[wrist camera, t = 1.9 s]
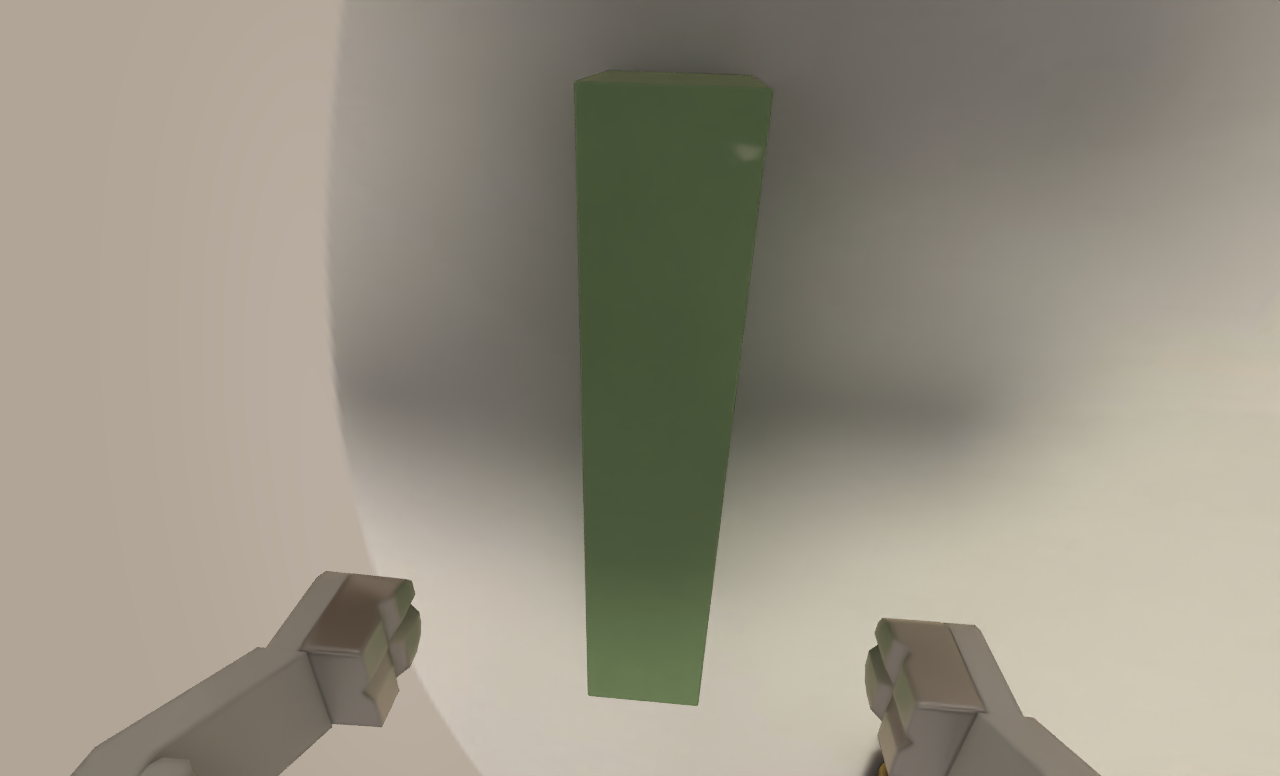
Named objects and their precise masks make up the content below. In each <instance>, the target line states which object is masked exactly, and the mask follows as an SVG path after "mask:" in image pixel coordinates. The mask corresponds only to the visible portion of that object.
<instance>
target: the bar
mask: <svg viewBox="0 0 1280 776" xmlns="http://www.w3.org/2000/svg"><path fill="white" fill-rule="evenodd" d="M772 96H773V89H772V88H771V87H769V86H767V85H766V84H764V83H763V82H761V81H760V80H758V79H757V78H755V77H753V76H752V75H730V74H701V73H673V72H644V71H616V70H607V71H604V72H601V73H598V74H595V75H592V76H589V77H586V78H583V79H580V80H577V81H575V83H574V105H575V149H576V193H577V237H578V281H579V325H580V369H581V413H582V457H583V501H584V546H585V590H586V634H587V678H588V695H589V696H596V697H607V698H618V699H628V700H639V701H650V702H661V703H671V704H682V705H693V706H697V705H698V702H699V694H700V685H701V677H702V669H703V661H704V653H705V645H706V636H707V628H708V620H709V612H710V604H711V595H712V587H713V579H714V571H715V563H716V555H717V546H718V538H719V530H720V522H721V514H722V505H723V497H724V489H725V481H726V473H727V465H728V456H729V448H730V440H731V432H732V424H733V415H734V407H735V399H736V391H737V383H738V375H739V366H740V358H741V350H742V342H743V334H744V325H745V317H746V309H747V301H748V293H749V284H750V276H751V268H752V260H753V252H754V244H755V235H756V227H757V219H758V211H759V203H760V194H761V186H762V178H763V170H764V162H765V154H766V145H767V137H768V129H769V121H770V113H771V104H772Z"/></svg>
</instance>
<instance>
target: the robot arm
mask: <svg viewBox="0 0 1280 776" xmlns="http://www.w3.org/2000/svg"><path fill="white" fill-rule="evenodd" d="M414 596H415V591H414V587H413V583H412V581H411V580H407V579H399V578H390V577H380V576H371V575H362V574H350V573H340V572H330V571H326V572H324V573H323V574H321V575H320V576H318V577H317V578H316V579H315V581H314V582H313V583H312V585H311V586H310V588H309V589H308V590H307V592H306V593H305V595H304V596H303V597H302V599H301V600H300V601H299V603H298V604H297V606H296V607H295V608H294V610H293V611H292V612H291V614H290V615H289V617H288V618H287V620H286V621H285V622H284V624H283V625H282V626H281V628H280V629H279V630H278V632H277V633H276V635H275V636H274V637H273V639H272V640H271V641H270V643H269V644H268V646H267V647H266V648H259V647H257V648H256V649H254V650H252V651H251V652H249V653H247V654H246V655H244V656H243V657H241V658H239V659H238V660H236V661H234V662H233V663H231V664H230V665H228V666H226V667H225V668H223V669H222V670H220V671H218V672H216V673H215V674H213V675H212V676H210V677H209V678H207V679H205V680H203V681H202V682H200V683H199V684H197V685H195V686H194V687H192V688H190V689H189V690H187V691H186V692H184V693H182V694H181V695H179V696H178V697H176V698H175V699H173V700H171V701H169V702H168V703H166V704H164V705H163V706H161V707H160V708H158V709H156V710H155V711H153V712H151V713H150V714H148V715H147V716H145V717H143V718H142V719H140V720H138V721H137V722H135V723H134V724H132V725H130V726H129V727H127V728H125V729H124V730H122V731H121V732H119V733H117V734H116V735H114V736H112V737H111V738H109V739H107V740H106V741H104V742H103V743H101V744H99V745H98V746H96V747H95V748H94V749H93V750H92V751H91V752H90V754H89V755H88V756H87V757H86V758H85V759H84V761H83V762H82V763H81V764H80V765H79V766H78V767H77V769H76V770H75V771H74V772H73V773H72V775H71V776H278V775H280V773H282V772H283V771H284V770H285V769H286V768H287V767H288V766H289V765H291V763H293V762H294V761H295V760H296V759H297V758H298V757H299V756H301V754H303V753H304V752H305V751H306V750H307V749H308V748H309V747H311V746H312V745H313V744H314V743H315V742H316V741H317V740H318V739H319V738H320V737H321V736H323V735H324V734H325V733H326V732H327V731H328V730H329V729H330V728H332V724H343V725H358V726H373V727H382V726H383V724H384V722H385V719H386V717H387V715H388V713H389V711H390V709H391V707H392V705H393V702H394V700H395V698H396V696H397V694H398V692H399V688H398V684H397V680H396V677H398V676H399V675H400V674H401V673H403V672H404V671H405V670H407V669H408V668H409V667H410V666H411V664H412V661H413V659H414V657H415V655H416V652H417V648H418V644H419V640H420V636H421V619H420V614H419V611H417V610H416V609H415V608H414V607H413V606H412V605H411V602H412V600H413V598H414ZM875 636H876V639H877V643H878V645H877V646H875V647H874V648H872V649H871V650H869V653H868V657H867V660H866V664H865V685H866V692H867V697H868V701H869V705H870V709H871V710H872V711H873V712H874V713H875V714H876V715H877V716H878V718H879V719H880V720H881V721H882V723H881V726H880V729H879V732H878V735H877V736H878V739H879V743H880V747H881V750H882V754H883V758H884V761H885V765H886V768H887V772H888V776H1101V775H1099V774H1098V773H1097V772H1096V771H1095V770H1094V769H1092V768H1091V767H1090V766H1089V765H1088V764H1087V763H1086V762H1084V761H1083V760H1082V759H1081V758H1080V757H1079V756H1077V755H1076V754H1075V753H1074V752H1073V751H1072V750H1070V749H1069V748H1068V747H1067V746H1066V745H1065V744H1063V743H1062V742H1061V741H1060V740H1059V739H1058V738H1056V737H1055V736H1054V735H1053V734H1052V733H1051V732H1049V731H1048V730H1047V729H1046V728H1045V727H1044V726H1043V725H1041V724H1040V723H1039V722H1038V721H1037V720H1036V719H1034V718H1031V717H1024V716H1023V714H1022V712H1021V710H1020V708H1019V706H1018V704H1017V702H1016V700H1015V698H1014V696H1013V694H1012V692H1011V690H1010V688H1009V686H1008V684H1007V682H1006V680H1005V678H1004V676H1003V674H1002V672H1001V670H1000V668H999V666H998V664H997V662H996V660H995V658H994V656H993V654H992V652H991V650H990V648H989V646H988V644H987V642H986V640H985V638H984V636H983V634H982V632H981V630H979V629H978V628H977V627H976V626H975V625H966V624H954V623H941V622H932V621H918V620H904V619H890V618H882V619H881V620H880V621H879V622H878V624H877V627H876V630H875Z"/></svg>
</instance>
